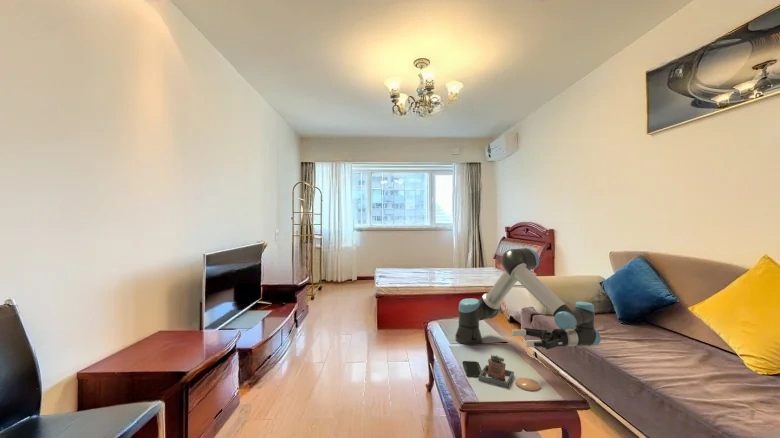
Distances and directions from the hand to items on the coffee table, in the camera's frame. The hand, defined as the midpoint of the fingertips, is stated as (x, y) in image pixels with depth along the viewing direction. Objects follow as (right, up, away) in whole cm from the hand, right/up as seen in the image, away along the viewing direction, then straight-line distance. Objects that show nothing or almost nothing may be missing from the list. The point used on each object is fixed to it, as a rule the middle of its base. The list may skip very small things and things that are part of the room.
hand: (518, 338), depth 151 cm
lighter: (-10, -18, 0) cm, 21 cm away
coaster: (+1, -18, -6) cm, 19 cm away
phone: (-19, -18, +8) cm, 27 cm away
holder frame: (-10, -18, 0) cm, 21 cm away
